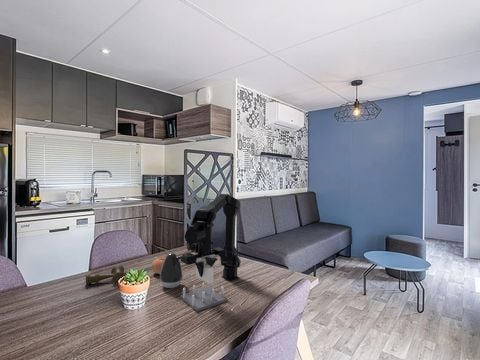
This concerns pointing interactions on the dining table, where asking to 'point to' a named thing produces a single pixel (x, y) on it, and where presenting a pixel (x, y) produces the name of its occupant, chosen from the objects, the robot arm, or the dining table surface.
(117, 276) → the kendama
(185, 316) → the dining table surface
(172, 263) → the pump dispenser
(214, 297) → the rack
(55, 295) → the dining table surface
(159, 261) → the tomato
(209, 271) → the tile
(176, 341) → the dining table surface
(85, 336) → the dining table surface
